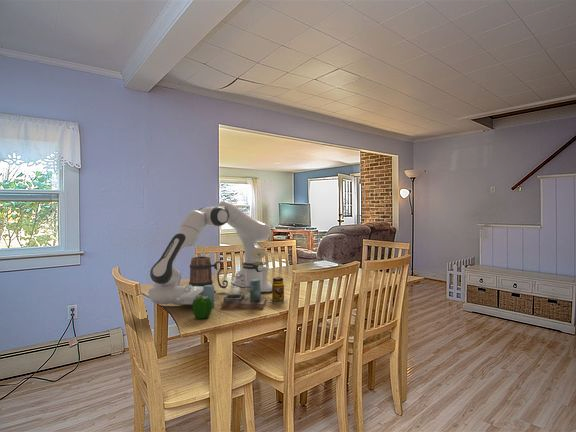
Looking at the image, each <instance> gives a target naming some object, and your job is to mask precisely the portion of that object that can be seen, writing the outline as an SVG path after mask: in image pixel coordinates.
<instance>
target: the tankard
mask: <svg viewBox="0 0 576 432" xmlns="http://www.w3.org/2000/svg"><path fill="white" fill-rule="evenodd" d="M218 264H220V268H219V270H218ZM212 267H213V268H214V269H215V270H216V271H217V270H218V272H217V274H216V279H217V284H218V286H219V287H220V289H221V288H222V289H226V288H227V287H228V285H229V282H228V280H226V279H224V280H222V284H221V283H220V273H221V271H222V268H223V262H222V261H220V260H218V261H216V262H214V264H212V261H211V257H209V256H208V257H207V256H196V257H195V256H194V257H191V260H190V264H189V282H188V285H192V286H202V287H203V286H205V285H213V276H212V275H213V274H212ZM216 293H217V291H216V290H215V289H214V295H215V294H216Z"/></svg>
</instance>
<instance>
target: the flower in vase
mask: <svg viewBox="0 0 576 432" xmlns="http://www.w3.org/2000/svg"><path fill="white" fill-rule="evenodd" d="M260 248H261V249H260ZM260 248H257V249H255V250H254V251H253V253H252V256H253V258H255V259H256V258H257V259H260V258H261V259H262V260H263V259H264V258H265V256H266V255H267V253H266V250H265V249H264V248H262V247H260ZM269 262H270V261H269V260H268V261H266V262H263V265H262V264H261V265H262V266H263V267H260V268H261V270H262V274H263V279H262V281H261V293H269V292H272V283H271V282H270V281H268V279H267V274H268V271H269V268H270V267H269V266H266V265H268V264H269ZM260 263H261V262H255V263H254V264H253V265H259V264H260Z"/></svg>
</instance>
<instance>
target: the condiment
mask: <svg viewBox="0 0 576 432" xmlns="http://www.w3.org/2000/svg"><path fill="white" fill-rule="evenodd" d="M271 284H272V291H271V293H272V295H271V296H272V297H271V299H268V300H266V303H267V302H268V303H272V304H277V305H279V304H283V303H285V302H286V301H288V300H287V299H285V283H284V278H283V277H282V276H281V277H279V276H278V277H276V276H275V277H273V278H272V283H271Z"/></svg>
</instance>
